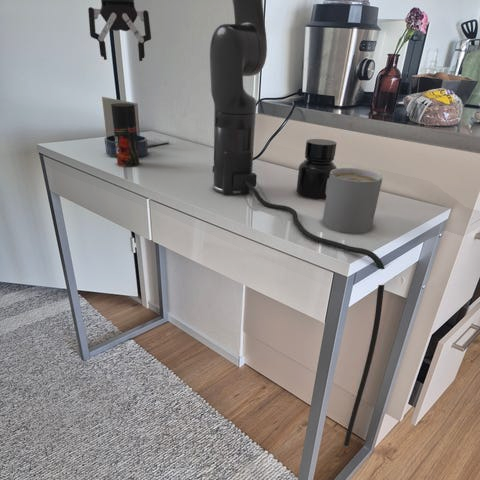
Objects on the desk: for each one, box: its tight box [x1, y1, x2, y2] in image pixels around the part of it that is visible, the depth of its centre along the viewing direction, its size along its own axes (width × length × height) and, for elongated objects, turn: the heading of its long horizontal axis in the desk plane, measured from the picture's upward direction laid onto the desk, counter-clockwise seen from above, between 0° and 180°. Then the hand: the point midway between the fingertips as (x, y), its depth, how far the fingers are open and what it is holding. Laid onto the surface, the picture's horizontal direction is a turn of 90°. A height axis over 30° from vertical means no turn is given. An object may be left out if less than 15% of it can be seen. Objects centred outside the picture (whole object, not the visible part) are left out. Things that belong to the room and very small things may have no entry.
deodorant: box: [111, 103, 140, 168], centre depth 117 cm, size 6×6×15 cm
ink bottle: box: [296, 138, 338, 200], centre depth 102 cm, size 10×9×12 cm
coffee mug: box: [321, 167, 383, 234], centre depth 87 cm, size 13×10×10 cm
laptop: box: [101, 96, 170, 148], centre depth 143 cm, size 18×13×13 cm
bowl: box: [104, 135, 149, 159], centre depth 130 cm, size 12×12×4 cm
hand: (123, 60), depth 108 cm, fingers open, 8 cm apart
